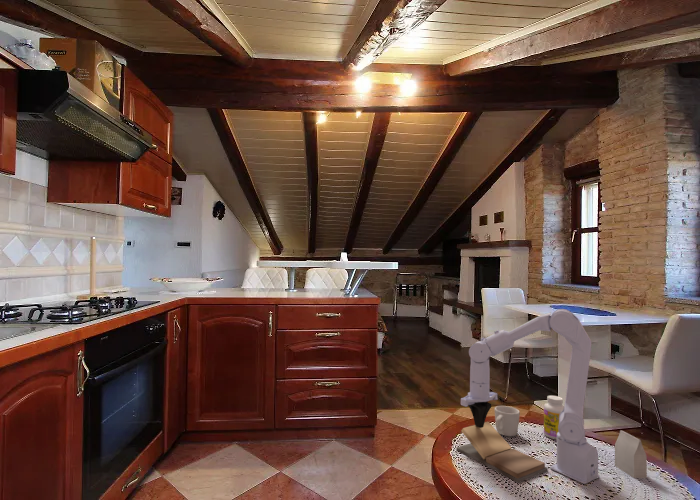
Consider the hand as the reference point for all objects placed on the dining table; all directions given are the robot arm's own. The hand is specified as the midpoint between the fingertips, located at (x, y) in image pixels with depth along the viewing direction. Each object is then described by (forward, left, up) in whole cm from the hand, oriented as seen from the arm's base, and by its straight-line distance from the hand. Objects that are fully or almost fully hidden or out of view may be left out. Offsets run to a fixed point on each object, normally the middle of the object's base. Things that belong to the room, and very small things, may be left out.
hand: (479, 426), depth 120 cm
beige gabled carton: (-30, -27, -7) cm, 41 cm away
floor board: (-8, 0, -7) cm, 10 cm away
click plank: (-2, 0, -3) cm, 4 cm away
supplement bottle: (-6, -31, -7) cm, 32 cm away
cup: (+3, -17, -7) cm, 19 cm away
